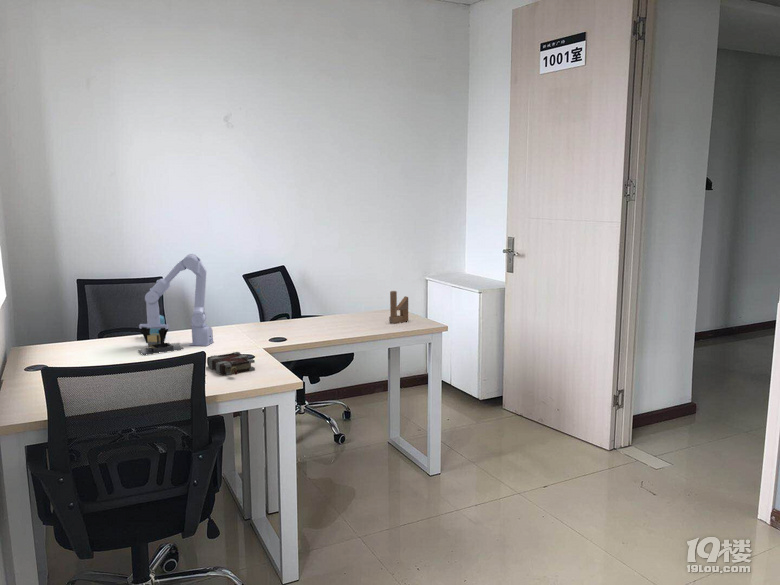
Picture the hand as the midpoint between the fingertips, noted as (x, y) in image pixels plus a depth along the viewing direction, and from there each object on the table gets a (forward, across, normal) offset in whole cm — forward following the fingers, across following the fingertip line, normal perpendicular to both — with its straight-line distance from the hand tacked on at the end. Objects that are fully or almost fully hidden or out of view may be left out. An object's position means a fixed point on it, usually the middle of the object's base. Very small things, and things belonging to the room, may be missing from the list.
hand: (155, 343), depth 312 cm
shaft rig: (+2, +7, -7) cm, 10 cm away
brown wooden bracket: (+2, +109, +70) cm, 129 cm away
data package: (+2, -8, +16) cm, 19 cm away
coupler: (+2, 0, 0) cm, 2 cm away
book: (+2, +55, -34) cm, 65 cm away
